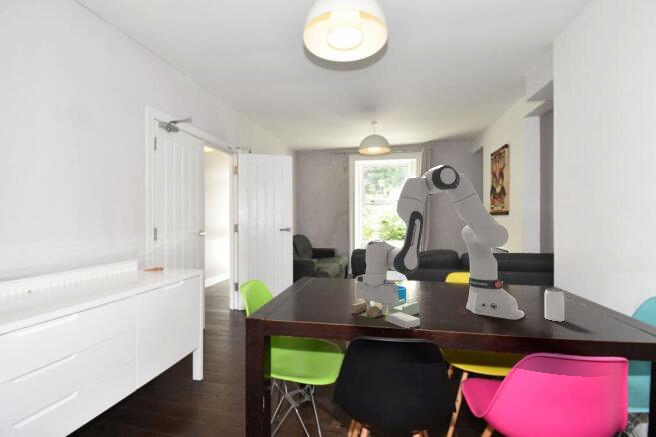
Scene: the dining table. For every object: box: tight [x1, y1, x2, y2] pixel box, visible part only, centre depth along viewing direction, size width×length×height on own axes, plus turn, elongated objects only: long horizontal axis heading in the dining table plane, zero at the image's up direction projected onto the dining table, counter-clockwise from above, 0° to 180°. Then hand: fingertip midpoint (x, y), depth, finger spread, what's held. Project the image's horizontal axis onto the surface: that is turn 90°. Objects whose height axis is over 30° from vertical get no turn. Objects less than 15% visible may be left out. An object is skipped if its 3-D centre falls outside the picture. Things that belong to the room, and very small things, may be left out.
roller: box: [365, 303, 387, 319], centre depth 129 cm, size 4×8×4 cm, turn 134°
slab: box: [387, 312, 421, 329], centre depth 120 cm, size 10×7×3 cm
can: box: [544, 288, 565, 323], centre depth 125 cm, size 6×6×12 cm
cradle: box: [387, 299, 420, 316], centre depth 133 cm, size 8×11×4 cm
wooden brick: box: [351, 300, 367, 315], centre depth 135 cm, size 2×8×4 cm, turn 134°
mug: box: [397, 285, 407, 303], centre depth 149 cm, size 12×8×8 cm
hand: (376, 312), depth 129 cm, fingers open, 5 cm apart
